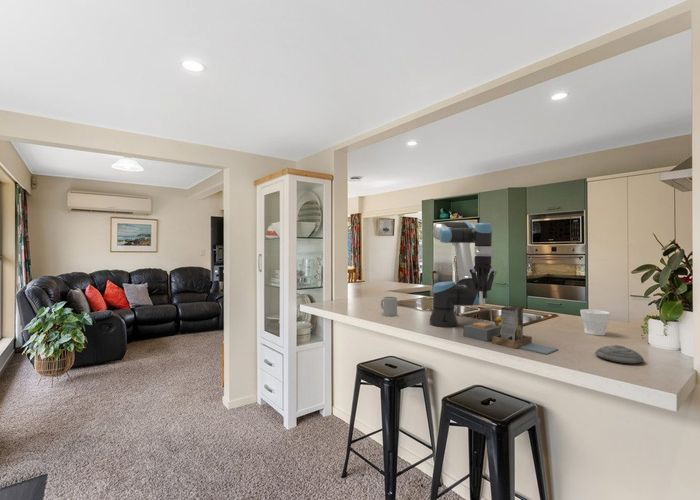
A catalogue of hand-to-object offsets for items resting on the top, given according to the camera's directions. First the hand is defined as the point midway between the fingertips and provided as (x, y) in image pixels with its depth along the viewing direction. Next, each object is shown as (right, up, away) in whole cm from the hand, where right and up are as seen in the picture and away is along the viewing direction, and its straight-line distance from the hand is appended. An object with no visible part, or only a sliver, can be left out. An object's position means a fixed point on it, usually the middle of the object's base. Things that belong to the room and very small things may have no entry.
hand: (482, 304), depth 171 cm
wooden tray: (+9, -15, -11) cm, 21 cm away
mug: (-39, -15, +53) cm, 68 cm away
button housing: (0, -15, 0) cm, 15 cm away
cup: (+59, -16, +8) cm, 62 cm away
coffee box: (+9, -16, -11) cm, 21 cm away
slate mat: (+16, -16, -20) cm, 30 cm away
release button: (0, -14, 0) cm, 14 cm away
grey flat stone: (+40, -16, -33) cm, 55 cm away
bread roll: (+19, -15, +19) cm, 31 cm away
